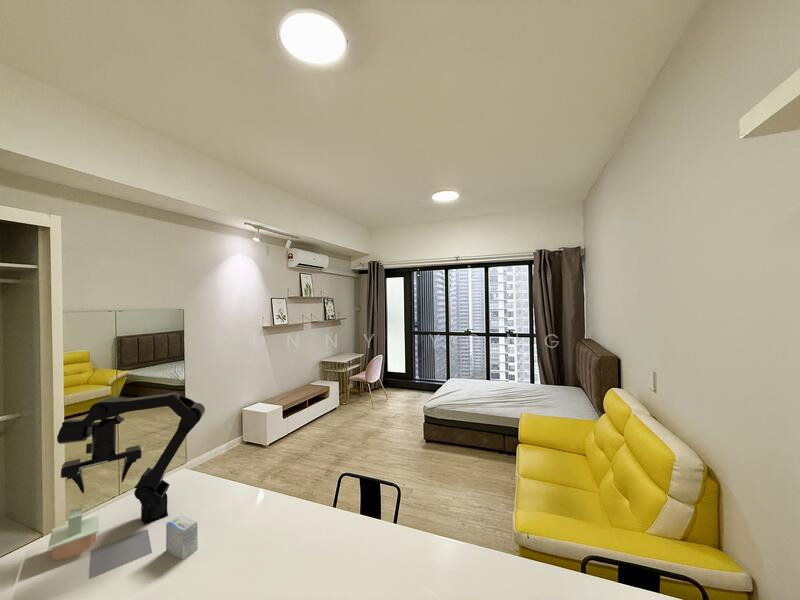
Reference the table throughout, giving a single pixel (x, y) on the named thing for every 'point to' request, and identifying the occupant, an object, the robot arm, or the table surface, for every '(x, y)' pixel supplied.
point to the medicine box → (181, 536)
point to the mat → (119, 553)
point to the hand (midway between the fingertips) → (103, 486)
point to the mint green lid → (74, 529)
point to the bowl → (73, 547)
